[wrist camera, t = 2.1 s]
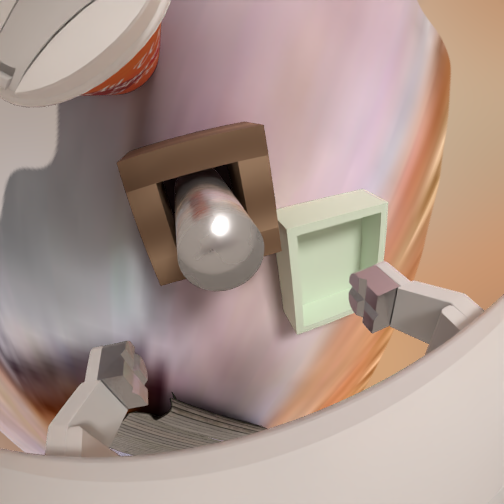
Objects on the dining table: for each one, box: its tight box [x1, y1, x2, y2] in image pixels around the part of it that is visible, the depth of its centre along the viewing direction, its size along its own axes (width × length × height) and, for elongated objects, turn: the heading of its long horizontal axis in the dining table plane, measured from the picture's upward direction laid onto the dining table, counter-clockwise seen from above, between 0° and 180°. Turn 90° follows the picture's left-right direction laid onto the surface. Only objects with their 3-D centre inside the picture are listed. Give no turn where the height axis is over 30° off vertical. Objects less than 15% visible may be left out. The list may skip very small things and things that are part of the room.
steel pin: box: [174, 168, 264, 291], centre depth 17 cm, size 4×4×11 cm
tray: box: [276, 189, 388, 335], centre depth 27 cm, size 12×10×4 cm
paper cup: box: [0, 0, 171, 107], centre depth 9 cm, size 8×8×14 cm
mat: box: [110, 392, 267, 455], centre depth 38 cm, size 23×24×5 cm
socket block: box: [117, 122, 282, 286], centre depth 20 cm, size 9×9×5 cm
